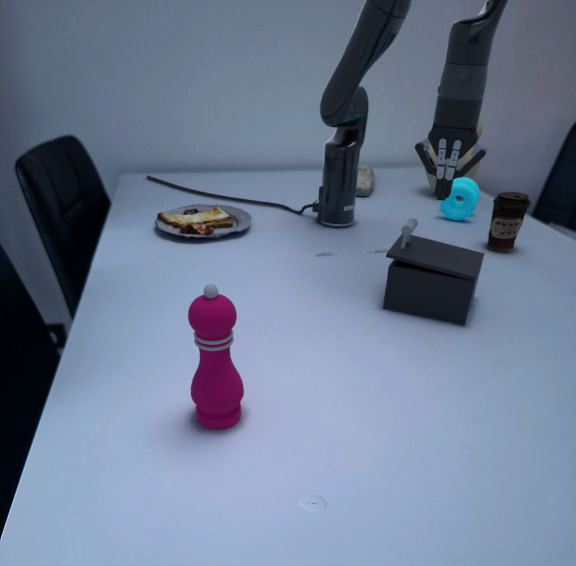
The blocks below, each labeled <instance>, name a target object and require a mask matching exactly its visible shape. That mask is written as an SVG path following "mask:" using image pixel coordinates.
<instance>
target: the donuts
mask: <svg viewBox="0 0 576 566" xmlns="http://www.w3.org/2000/svg"><path fill="white" fill-rule="evenodd" d="M479 187H480V186H479V185H478V184H477V182H476V181H475V180H474V179H473V180H472V179H470V178H466V177H462V178H456V179H454V180H453V185H452V190H451V194H450V196H449V197H448V198H446V200H445V201H441V200H439V209H440V212H441V213H442V214H443V216H444V217H446V218H447V219H449V220H451V221H462V220H465V219H467V218H469V217H470V216H471V215H472V214H473V213H474V212H475V210H476V208H477V205H478V203H479V200H480V195H481V192H480V188H479ZM457 197H461V198H462V199H463V200H458V199H457Z"/></svg>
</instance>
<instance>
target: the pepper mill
mask: <svg viewBox="0 0 576 566" xmlns="http://www.w3.org/2000/svg"><path fill="white" fill-rule="evenodd" d="M237 319H238V314H237V309H236V305H234V303H233V301H232V300H231V299H230V298H229V297H227V296H225V295H223V294H220V293H219V288H218V287H217V285H216V284H213V283H208V284H206V285H205V286H204V288H203V294H201V295H199V296H197V297H195V299H194V300H193V301H192V302H191V303H190V305H189V307H188V312H187V320H188V324H189V326H190V327H191V329H192V330H193V331H194V332H193V338H194V340H193V342H194V344H195V345H194V346H196V347H197V348H198V351H199V362H198V365H197V367H196V370H195V372H194V374H193V376H192V380H191V384H190V398H191V400H192V402H193V403H194V404H195V414H196V415H195V416H196V421H197V422H198V424H200V425H201V426H202V427H204V428H207V429H209V430H224V429H225V430H226V429H229V428H232V427H233V426H235V425H236V424H237V423H238V422H240V420H241V418H242V404H241V402H242V400H243V398H244V395H245V390H244V389H245V388H244V381H243V379H242V377H241V375H240V373H239V371H238V369H237V368H236V366H235V363H234V362H233V360H232V357H231V347H232V345H233V343H234V340H235V338H234V330H233V328H234V327H235V325H236V323H237Z"/></svg>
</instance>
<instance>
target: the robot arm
mask: <svg viewBox="0 0 576 566" xmlns="http://www.w3.org/2000/svg"><path fill="white" fill-rule="evenodd" d="M509 1H510V0H485V3H484V5H483V7H482V8H481V10H480V11H479V12H478V13H477V14H476V15H474V16H471V17H470V16H469V17H466V18H461V19H458V20H456V21H454V22H453V23H452V24H451V26H450V29H449V33H448V37H447V43H446V44H447V45H446V51H445V57H444V63H443V67H442V70H441V75H440V79H439V84H438V86H437V97H436V102H435V109H434V116H433V121H432V125H431V129H430V130H429V132H428V133H427V137H425V138H424V139H423V140H420V141H418V142H417V143H416V144H415V145H414V150H415V152H416V153H417V155H418V157H419V160H420V161H421V163H422V165H423V167H424V170H425V169H426V170H427V172H428V174H430V175H431V174H432V175H434V176H435V177H436V179H437V180H436V186H435V191H434V192H433V196H434V197H436V200H437V201H440V200H441V201H445V200H446V198H448V197H449V196H450V194H451V190H452V185H453V180H454V179H456V178H462V177H463V176H464V175H465V174H466V173H467V172H468V171H469V170H470V169H471V168H473V167H474V166H475V165H476V164H477V163H478V162H479V161H480V162H481V160H482V159H484V158H485V157H486V155H487V153H488V149H487V147H484V146H483V145H481V143H480V142H479V140H478V134H477V126H478V121H479V118H480V116H481V111H482V108H483V101H484V97H485V94H486V93H485V92H486V88H487V82H488V74H489V73H488V72H489V64H490V59H491V54H492V51H493V50H492V49H493V44H494V40H495V36H496V34H497V30H498V28H499V25H500V22H501V20H502V17H503V15H504V12H505V10H506V8H507V5H508V3H509ZM412 3H413V0H365V1H364V2H363V5H362V8H361V10H360V12H359V14H358V18H357V21H356V23H355V25H354V28H353V30H352V32H351V35H350V37H349V39H348V41H347V44H346V45H345V48H344V50H343V53H342V55H341V57H340V59H339V61H338V63H337V65H336V67H335V69H334V71H333V73H332V75H331V76H330V78H329V80H328V82H327V84H326V85H325V87H324V89H323V92H322V94H321V97H320V101H319V106H318V107H319V108H318V110H319V111H318V112H319V116H320V120H321V122H322V123H323V125H325V126H327V128H328V127H329V128H336V129H335V131H334V133H333V134H332V136H331V137H330V138H329V139H328V140H326V142H325V143H324V145H323V158H322V160H323V161H322V177H321V178H322V179H321V185H320V186H319V187H318V198H317V199H315V200H314V201H313V202H312V203H307V204H305V205H303V206H302V207H301V209H300V210H296V209H293V208H291V207H290V206H288V205H285V204H282V203H277V202H272V201H271V202H270V201H264V200H263V201H262V200H254V199H248V198H241V197H234V196H228V195H223V194H217V193H211V192H206V191H201V190H198V189H193V188H189V187H185V186H181V185H178V184H175V183H173V182H169V181H166V180H163V179H160V178H156V177H153V176H151V175H146V179H148V180H151V181H154V182H157V183H160V184H163V185H166V186H169V187H172V188H174V189H179V190H182V191H186V192H189V193H194V194H197V195H201V196H207V197H211V198H216V199H223V200H228V201H235V202H241V203H247V204H248V203H249V204H254V205H262V206H269V207H277V208H282V209H284V210H287V211H288V212H291V213H293V214H296V215H302V214H304V211H305V210H306V209H309V208H312V211H311V212H312V213H317V217H316V218H317V219H316V222H317V224H321V225H323V226H325V227H331V228H347V227H350V226H353V224H354V223H355V219H354V218H355V210H356V200H357V195H356V190H357V179H358V168H359V162H360V157H361V151H362V149H363V146H364V143H365V139H366V131H367V125H368V118H369V109H370V103H369V102H370V101H369V96H368V91H367V90H366V88H365V87H364V86H363V85H362V84H361V83H362V81H363V79H364V77H365V76H366V75H367V73H368V72H369V71H370V69H371V68H372V67H373V66H374V64H375V63H377V61H378V60H380V59H381V57H382V56H383V55H384V54H385V53H386V52H387V51H388V50H389V48H390V47H391V46H392V45H393V43H394V42H395V40H396V38H398V37H397V36H398V35H399V33H400V31H401V29H402V26H403V25H404V22H405V20H406V18H407V16H408V14H409V12H410V9H411V7H412ZM431 146H432V148H433V150H434V152H435V154H436V156H437V157H438V162H437V167H436V165H435V163H434V161H433V159H432V158H431V156H430V154H429V152H428V151H429V149H430V147H431ZM472 147H473V151H472V153H471V156H472V158H471V159H470V160H469V161H468V162H467V163H466V164H465V165H464V166H463V167H462V168H461V169H458V170H456V168H457V165H458V162H459V159H461V158H462V157H463V156H464V155H465V154H466V153H467V152H468V151H469V150H470V149H471V148H472ZM448 158H449V159H450V162H449V167H448V171H447V175H446V177H445V173H446V165H447V159H448Z"/></svg>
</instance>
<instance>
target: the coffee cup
mask: <svg viewBox="0 0 576 566" xmlns="http://www.w3.org/2000/svg"><path fill="white" fill-rule="evenodd" d="M529 198H530V195H529V194H527V193H523V192H517V191H503V192H499V193H497V196H496V197H494V199H493V200H492V202H493V204H492V205H493V206H492V212H491V218H490V225H489V230H488V237H487V244H486V247H487V248H488V249H490V250H492V251H497V252H505V253H506V252H512V251H514V248H515V241H516V240H517V237H518V235H519V232H520V230H521V228H522V226H523V223H524V219H525V216H526V214H527V211H528V209H529V208H530V206H531V204H532V203H531V200H530V199H529Z"/></svg>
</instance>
